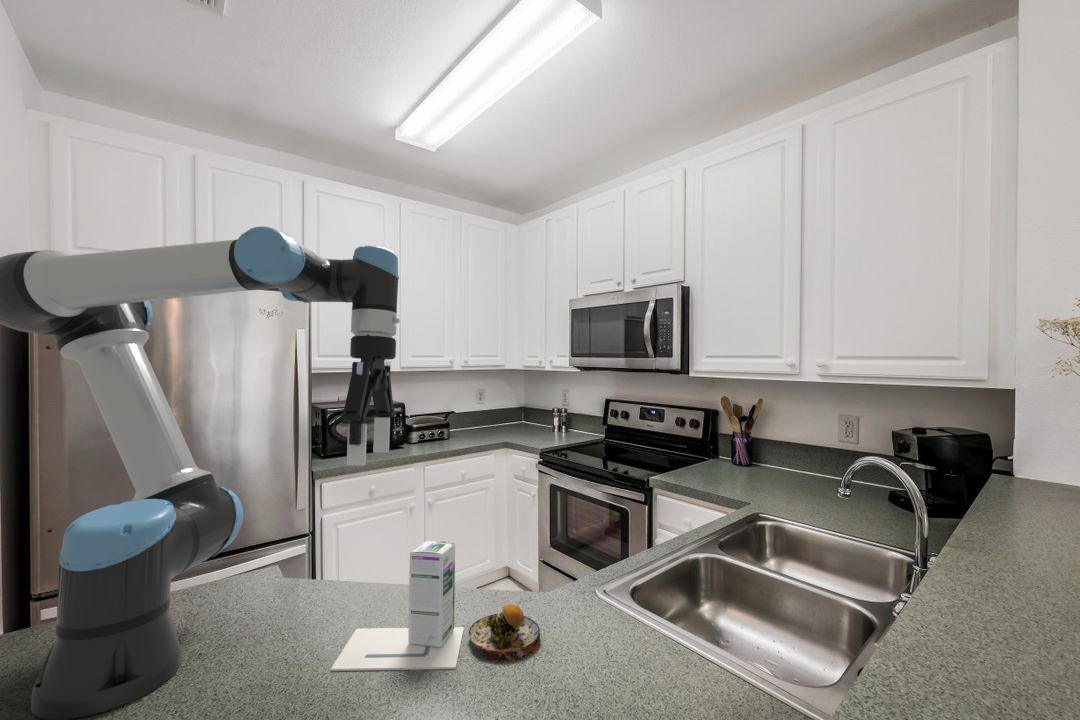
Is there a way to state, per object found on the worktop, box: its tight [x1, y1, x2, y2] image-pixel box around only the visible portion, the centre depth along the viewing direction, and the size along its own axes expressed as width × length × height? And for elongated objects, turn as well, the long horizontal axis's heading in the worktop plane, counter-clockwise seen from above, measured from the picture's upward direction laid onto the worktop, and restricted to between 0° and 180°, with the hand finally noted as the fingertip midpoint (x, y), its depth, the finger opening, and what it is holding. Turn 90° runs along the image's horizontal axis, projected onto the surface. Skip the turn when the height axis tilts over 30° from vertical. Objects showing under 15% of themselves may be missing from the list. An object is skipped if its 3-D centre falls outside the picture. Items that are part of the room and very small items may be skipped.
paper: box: [330, 626, 465, 672], centre depth 72 cm, size 18×11×1 cm, turn 93°
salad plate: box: [468, 596, 541, 662], centre depth 75 cm, size 12×12×8 cm
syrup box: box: [408, 540, 456, 647], centre depth 76 cm, size 6×6×14 cm
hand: (369, 458), depth 80 cm, fingers open, 13 cm apart
